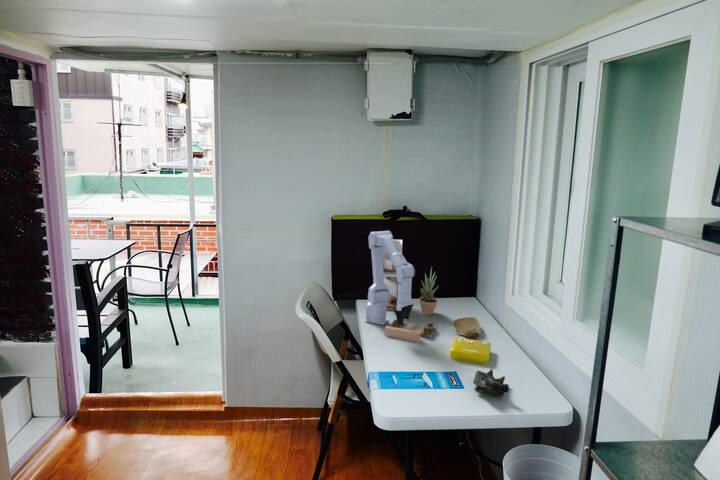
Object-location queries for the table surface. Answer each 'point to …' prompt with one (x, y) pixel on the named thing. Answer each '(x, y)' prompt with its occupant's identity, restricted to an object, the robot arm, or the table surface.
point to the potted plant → (428, 296)
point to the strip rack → (417, 328)
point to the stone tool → (468, 327)
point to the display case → (391, 275)
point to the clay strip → (402, 333)
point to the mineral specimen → (490, 384)
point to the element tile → (471, 351)
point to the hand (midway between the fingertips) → (403, 321)
